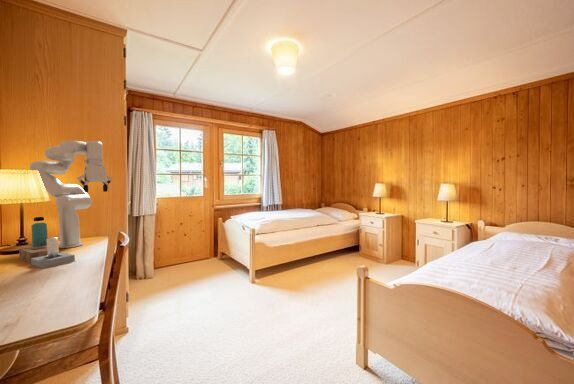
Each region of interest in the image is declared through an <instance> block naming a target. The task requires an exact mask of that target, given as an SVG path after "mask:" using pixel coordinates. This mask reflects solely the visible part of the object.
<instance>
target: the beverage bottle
mask: <svg viewBox="0 0 574 384" xmlns="http://www.w3.org/2000/svg"><path fill="white" fill-rule="evenodd" d="M43 221H45V217H44V216H36V217H33V222H36V223H33V224H32V225H31V243H32V246H31V247H36V246H42V245H47V238H48V224H47V223H46V222H43Z"/></svg>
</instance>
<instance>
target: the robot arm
mask: <svg viewBox="0 0 574 384" xmlns="http://www.w3.org/2000/svg"><path fill="white" fill-rule="evenodd" d="M103 150H104V149H103V143H102V142H101V141H97V140H96V141H95V140H89V141H80V140H73V139H72V140H71V139H70V140H65V141H62V142H60V143H59V145H54V146H50V147H47V148H46V149H45V150H44V153H43V154H44V156H45V157H46V158H47V159H49V160H35V161H33V162H32V163H30V165H29V171H30V170H38V171H39V173H40V176H41V178H42V181H43V183H44V186H45V188H46V189H45V188H44V189H45V190H46V192H47V193H48V194H49V195H50V196H51V197H52V198H54V199H55V205H56V208H57V213H58V227H59V228H58V229H59V230H58V231H59V244H58V248H59V249H69V248H76V247H80V246H84V242H83V241H81V227H80V226H81V225H80V224H81V222H80V215H79V214H78V212H77V210H85V209H89V208H91V206H92V204H93V200H92V198H91V196H90V195H89V194H88V192H89V185H88V184H89V183H102V184H103V185H102V190H103V191H102V192H104V193H105V192H108V186H109V184H111V183H112V182H111V181H112V180H113V178H112V177H111V176H109V175H108V174H107V170H106V169H107V168H106V166H105V165H104V154H103ZM76 155H83V156H86V159H84V161H83V162H84V163H86V164H85V166H84V174H83V175H80V176H77V180H78V182H79V183H80V184H81V185H82V186H80V185H79V184H76V183H64V182H62V181H61V180H60V179H59V178H57V177H56V176H55V175H57V176H58V175H59V176H60V175H65V174H66V173H67V172H68V170H69V169H70V168H71V166H72V165H73V163H74V161H75V159H76ZM82 187H83V188H82Z"/></svg>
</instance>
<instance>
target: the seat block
mask: <svg viewBox="0 0 574 384" xmlns="http://www.w3.org/2000/svg"><path fill="white" fill-rule="evenodd" d="M75 259H76V257H75V255H74V254H71V253H68V252H64V251H63V252H59V257H55V258H50V259H47V255H46V256H41V257H36V258H31V263H30V264H31V266H34V267H36V268H39V269H47V268H49V267H55V266H58V265H63V264H68V263H72V262H75V261H76V260H75Z"/></svg>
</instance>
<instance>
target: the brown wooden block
mask: <svg viewBox="0 0 574 384" xmlns="http://www.w3.org/2000/svg"><path fill="white" fill-rule="evenodd" d="M18 254H19V255H18V256H19V257H18V258H19V260H21V261H24V262H27V263H30V264H31V258H36V257H41V256H46V255H47V245H42V246H36V247H32V246H30V247H25V248H19V249H18Z"/></svg>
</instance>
